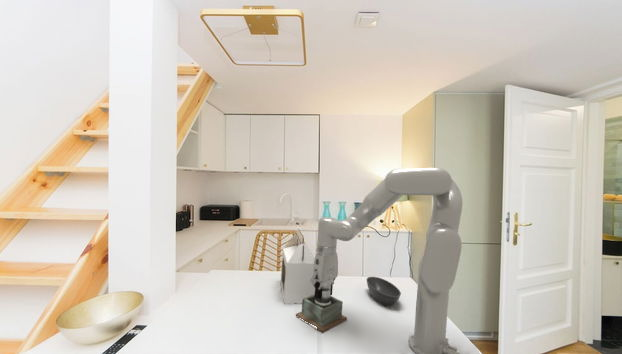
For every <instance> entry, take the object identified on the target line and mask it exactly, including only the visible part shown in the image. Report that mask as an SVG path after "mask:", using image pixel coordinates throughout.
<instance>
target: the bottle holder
mask: <svg viewBox="0 0 622 354" xmlns="http://www.w3.org/2000/svg"><path fill="white" fill-rule="evenodd" d="M330 297H331V305H330V306H328V307H326V308H322V307H320V306H318V305H316V304H314V302H315V299H316V298H315V294H314V295H311V296H309V297H306V298H303V300H302V304H301V311H299V312H298V313H295V317H296V316H298V317H299V318H301V319H303V320H304V321H306V322H308V323H310V324H312V325H314V326H316V327H317V330H316V331H318V332H320V334H324V333H326V332H327V331H328V332H329V330H331V329H333V328H335V327H337V326H339V325H341V324H342V323H344V322H346V321H347V320H348V317H347V316H345V315H344V314H343V303H344V302H343V301H342V300H340V299H338V298H335V297H334V296H333V295H330ZM298 317H297V318H298ZM299 318H298V319H299ZM301 319H300V320H301ZM304 321H303V322H304Z"/></svg>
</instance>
